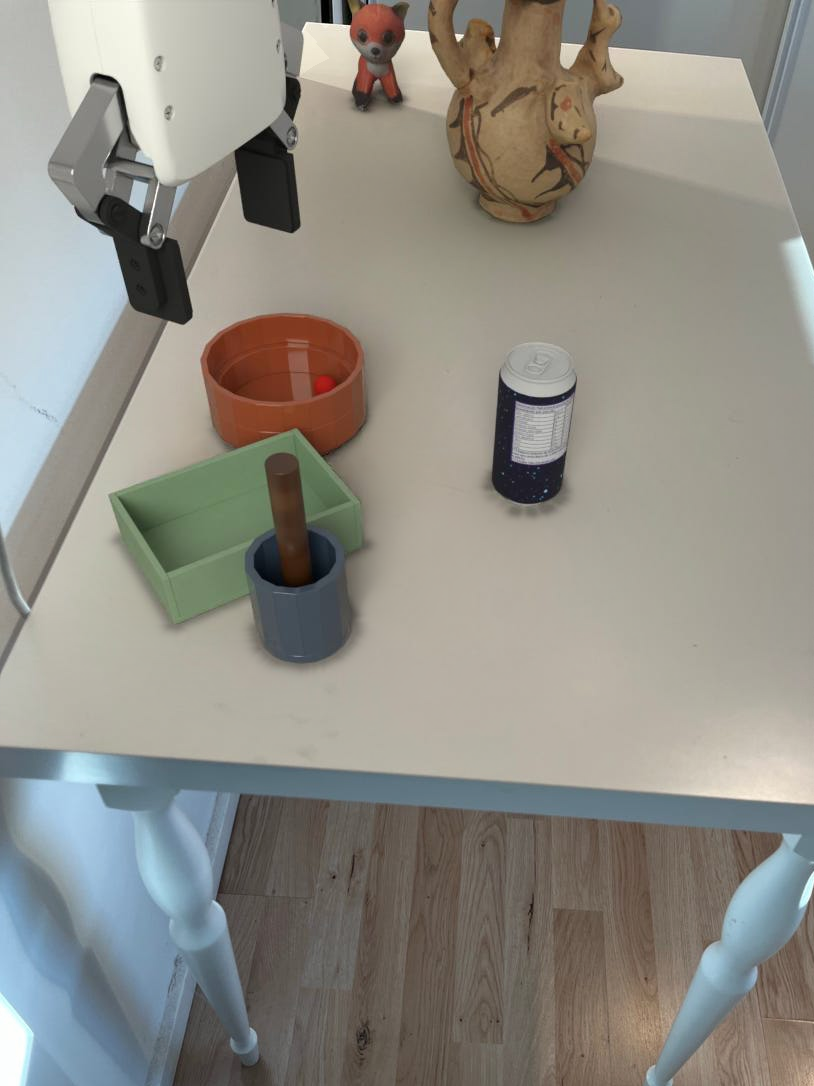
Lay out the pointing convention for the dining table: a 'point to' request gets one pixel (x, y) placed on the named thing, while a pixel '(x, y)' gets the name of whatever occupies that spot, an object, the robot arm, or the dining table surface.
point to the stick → (289, 519)
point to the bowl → (285, 380)
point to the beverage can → (533, 422)
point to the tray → (222, 521)
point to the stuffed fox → (376, 47)
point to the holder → (300, 599)
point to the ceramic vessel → (523, 102)
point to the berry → (324, 384)
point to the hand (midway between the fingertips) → (221, 267)
